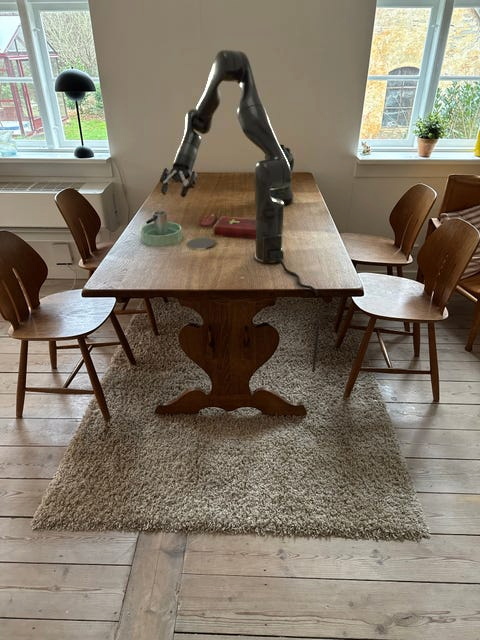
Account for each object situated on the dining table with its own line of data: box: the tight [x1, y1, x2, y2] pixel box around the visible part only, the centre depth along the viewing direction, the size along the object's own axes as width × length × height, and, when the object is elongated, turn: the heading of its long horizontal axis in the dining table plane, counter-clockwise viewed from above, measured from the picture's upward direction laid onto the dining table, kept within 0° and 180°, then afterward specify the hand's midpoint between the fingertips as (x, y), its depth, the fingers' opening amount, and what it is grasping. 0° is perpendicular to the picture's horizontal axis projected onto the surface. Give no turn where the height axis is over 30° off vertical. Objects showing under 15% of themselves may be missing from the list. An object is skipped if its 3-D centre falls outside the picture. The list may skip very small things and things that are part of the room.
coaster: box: [187, 237, 216, 250], centre depth 170 cm, size 10×10×1 cm
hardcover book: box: [212, 215, 256, 240], centre depth 179 cm, size 12×21×4 cm, turn 76°
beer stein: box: [264, 144, 295, 207], centre depth 210 cm, size 16×19×25 cm
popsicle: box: [200, 213, 217, 228], centre depth 191 cm, size 4×2×15 cm
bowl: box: [140, 221, 183, 247], centre depth 173 cm, size 15×15×4 cm
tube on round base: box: [145, 210, 168, 236], centre depth 169 cm, size 11×5×10 cm, turn 156°
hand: (172, 195), depth 174 cm, fingers open, 8 cm apart
